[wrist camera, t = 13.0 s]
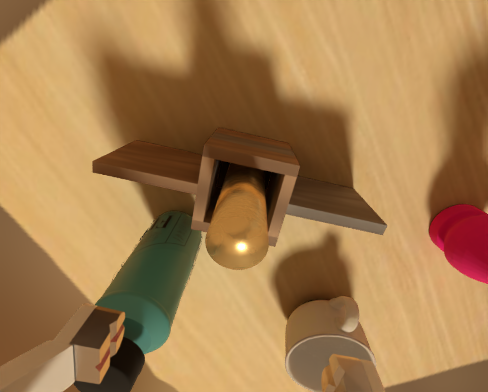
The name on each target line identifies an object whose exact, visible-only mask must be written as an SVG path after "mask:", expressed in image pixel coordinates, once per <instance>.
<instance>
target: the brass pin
mask: <svg viewBox="0 0 488 392" xmlns="http://www.w3.org/2000/svg"><path fill="white" fill-rule="evenodd" d="M205 242H206V248H207V251H208V253H209V255H210V256H211V258H212V259H213V260H214V261H215V262H217V263H218V264H219V265H221V266H223V267H226V268H229V269H235V270H242V269H247V268H251V267H253V266H255V265H257V264H258V263H259V262H261V261H262V260H263V258H264V257H265V255H266V254H267V251H268V247H269V240H268V226H267V213H266V199H265V186H264V172H263V170H261V169H257V168H253V167H248V166H244V165H239V164H235V163H230V165H229V168H228V171H227V174H226V177H225V180H224V183H223V186H222V189H221V192H220V195H219V198H218V201H217V204H216V207H215V210H214V213H213V217H212V220H211V223H210V226H209V229H208V232H207V235H206V240H205Z"/></svg>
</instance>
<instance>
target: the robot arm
mask: <svg viewBox="0 0 488 392" xmlns="http://www.w3.org/2000/svg"><path fill="white" fill-rule="evenodd" d="M124 319H125V312H122V311H118V310H113V309H109V308H105V307H101V306H96V305H91V304H86V303H84V304H83V305H81V306H80V307H79V308H78V310H77V311H76V312H75V314H74V315H73V316H72V317H71V319H70V320H69V321H68V322H67V324H66V325H65V326H64V327H63V329H62V330H61V331H60V332H59V334H58V335H57V336H56V337H55V339H54V340H53V341H49V340H48V341H46V342H44V343H43V344H41V345H39V346H37V347H35V348H33V349H32V350H30V351H28V352H26V353H24V354H22V355H21V356H19V357H17V358H15V359H13V360H11V361H10V362H8V363H6V364H4V365H2V366H0V392H63V391H64V390H65V389H67V388H68V387H69V386H70V385H71V384H73V383H74V382H75V380H76V381H83V382H89V383H95V384H100V383H101V381H102V379H103V377H104V375H105V373H106V372H107V370H108V368H109V366H110V357H112V356H113V355H115V354H116V353H117V351H118V349H119V347H120V344H121V341H122V339H123V335H124V326H123V324H122V323H123V321H124ZM329 363H330V365H328V366H326V367H325V368H324V370H323V372H322V379H321V384H322V391H323V392H385V390H384V387H383V385H382V382H381V380H380V377H379V375H378V373H377V370H376V368H375V365H374V364H373V362H372V361H367V360H362V359H358V358H354V357H348V356H343V355H338V354H332V355H331V356H330V358H329Z"/></svg>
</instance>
